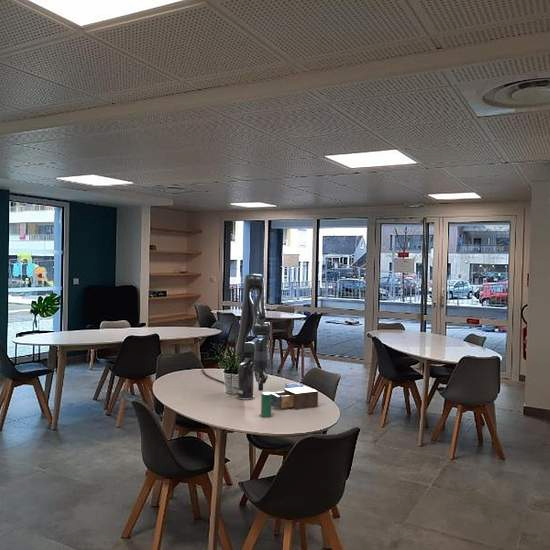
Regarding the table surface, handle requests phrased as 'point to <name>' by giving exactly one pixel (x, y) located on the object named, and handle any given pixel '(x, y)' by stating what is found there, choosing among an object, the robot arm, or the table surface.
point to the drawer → (282, 399)
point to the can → (266, 404)
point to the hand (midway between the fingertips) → (260, 390)
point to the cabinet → (304, 397)
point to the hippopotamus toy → (293, 385)
